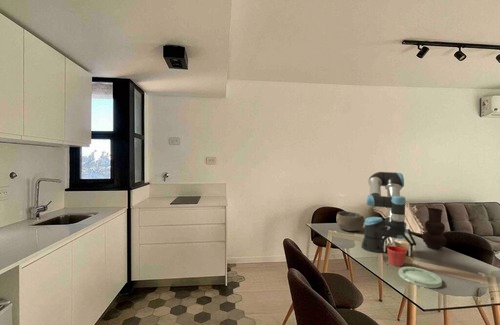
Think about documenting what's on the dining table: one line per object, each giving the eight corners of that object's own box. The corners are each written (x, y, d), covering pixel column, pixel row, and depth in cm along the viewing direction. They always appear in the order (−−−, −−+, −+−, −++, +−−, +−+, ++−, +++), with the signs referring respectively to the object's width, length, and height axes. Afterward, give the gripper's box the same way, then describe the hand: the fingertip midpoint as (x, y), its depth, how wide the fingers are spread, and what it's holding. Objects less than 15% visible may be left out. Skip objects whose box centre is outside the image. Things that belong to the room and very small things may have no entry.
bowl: (333, 225, 241) (334, 210, 240) (359, 226, 237) (359, 211, 237) (339, 232, 217) (339, 216, 216) (367, 234, 213) (368, 217, 213)
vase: (438, 253, 174) (440, 212, 173) (416, 245, 188) (418, 207, 187) (451, 250, 180) (452, 210, 180) (429, 243, 194) (430, 206, 194)
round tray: (398, 281, 133) (399, 277, 133) (398, 267, 150) (398, 263, 150) (445, 292, 123) (445, 288, 123) (438, 275, 140) (438, 272, 140)
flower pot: (409, 268, 149) (409, 253, 148) (389, 266, 151) (390, 251, 151) (402, 261, 159) (402, 246, 159) (384, 259, 161) (384, 245, 161)
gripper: (375, 218, 157) (374, 250, 157) (422, 224, 145) (421, 259, 145) (376, 216, 164) (375, 247, 164) (421, 222, 151) (419, 255, 151)
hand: (396, 253), depth 154 cm, fingers open, 13 cm apart
